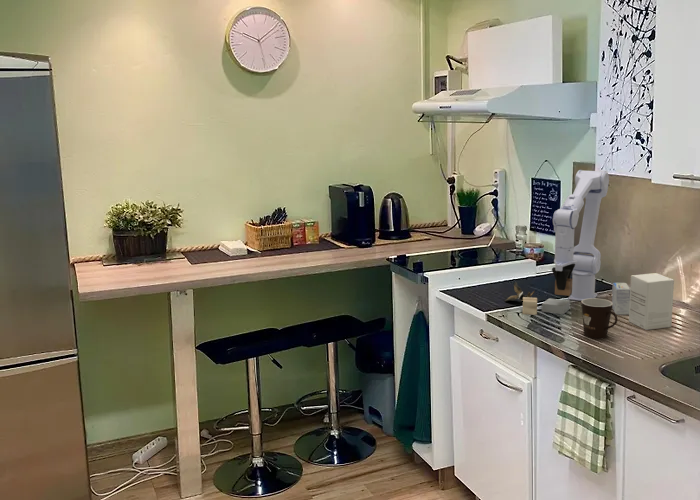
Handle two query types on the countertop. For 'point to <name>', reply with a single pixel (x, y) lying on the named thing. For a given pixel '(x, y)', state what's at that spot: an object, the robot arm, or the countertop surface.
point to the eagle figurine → (519, 293)
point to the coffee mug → (597, 317)
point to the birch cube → (529, 306)
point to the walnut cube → (567, 289)
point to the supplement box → (651, 301)
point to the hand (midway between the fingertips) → (562, 287)
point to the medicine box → (621, 298)
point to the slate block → (556, 306)
